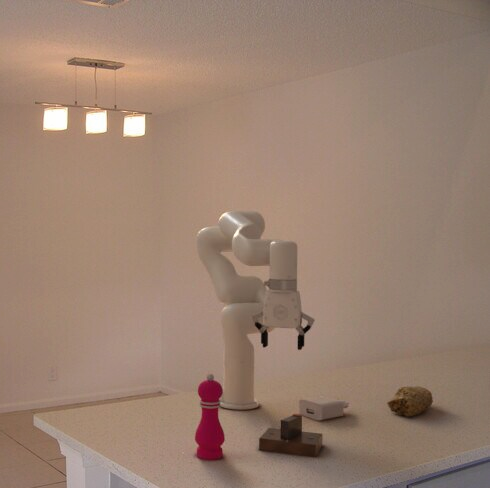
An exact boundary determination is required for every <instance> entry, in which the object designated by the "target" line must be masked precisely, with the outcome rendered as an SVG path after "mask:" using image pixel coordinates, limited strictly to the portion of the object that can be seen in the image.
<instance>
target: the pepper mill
mask: <svg viewBox="0 0 490 488" xmlns="http://www.w3.org/2000/svg"><path fill="white" fill-rule="evenodd" d="M222 386H223V385H221V383H220V382H219V381H218V380H215V376H214V374H213V373H208V374H207V375H206V380H202V382H200V384H199V385H198V387H197V395H198V397H199V398H200V399H199V407H201V418H200V420H199V423H198V426H197V427H196V430H195V434H194V441H195V443H196V445H198V447H197V448H196V457H198V458H199V459H201V460H207V461H208V460H211V461H212V460H218V459H222V457H223V454H224V453H223V452H224V451H223V447H221V446H223V444H224V443H225V440H226V439H225V436H226V435H225V432H224V429H223V427H222V425H221V421H220V418H219V408H220V407H221V406H220V400H219V399H220V397H221V396H222V393H223V390H222V389H223V387H222Z"/></svg>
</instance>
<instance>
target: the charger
mask: <svg viewBox="0 0 490 488" xmlns="http://www.w3.org/2000/svg"><path fill="white" fill-rule="evenodd" d="M349 405H350V403H349V402H346V401H345V400H341V399H337V398H334V397H331V396H327V395H319V396H313V397H308V398H301V399H299V405H298V406H299V407H298V408H299V409H298V411H299V415H301V416H302V417H306V418H310V419H312V420H315V421H325V420H329V419H335V418H339V417H343V416H344V410H345V409H347V408H349Z"/></svg>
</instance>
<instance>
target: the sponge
mask: <svg viewBox="0 0 490 488" xmlns="http://www.w3.org/2000/svg"><path fill="white" fill-rule="evenodd" d="M433 403H434V401H433V394H432V392H431V391H430V390H429V389H427V388H425V387H422V386H401V387H399V388H398V389H397V390H396V393H394V397H392V398H391V399H390V400H389V401H387V403H386V404H387V406H388V408H389V409H390V411H391V412H393V413H395V414H397V415H403V416H405V417H413V416H416V415H419V414H421V413H422V412H423V411H426V410H427V409H429V408H431V406H432V405H433Z"/></svg>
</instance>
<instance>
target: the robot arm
mask: <svg viewBox="0 0 490 488" xmlns="http://www.w3.org/2000/svg"><path fill="white" fill-rule="evenodd" d="M265 229H266V222H265V219H264V217H263V215H262V214H261V213H259V212H258V211H253V210H230V211H226V212H224V213H223V214H222V215H220V217H219V219H218V224H217V225H214V226H207V227H204V228H202V229H200V230H199V231H198V233H197V235H196V241H195V243H196V250H197V254H198V257H199V259H200V262H201V263H202V265H203V266H204V268H205V270H206V271H207V273H208V275H209V278H210V281H211V284H212V286H213V289H214V293H215V295H216V297H217V299H218V302H219V303H220V304H221V305H223V306H224V307H223V308H222V310H221V312H220V325H221V330H222V341H223V368H222V369H223V376H222V377H223V378H222V379H223V380H222V383H223V385H222V386H223V387H222V390H223V393H222V396H221V397H220V398H219V400H220V407H221V408H225V409H228V410H239V411H240V410H241V411H242V410H243V411H244V410H252V409H257V408H258V407H260V401H259V400H258V399H256V398H255V347H254V344H253V343H252V341H251V340H250V338H249V336H248V335H253V334H260V344H261V345H262V348H266V347H268V346H269V333H271V332H272V331H274V330H275V329H276V328H277V329H279V328H280V329H295V330H296V331H297V334H298V335H297V350H298V351H301V350H303V348H304V347H305V335H306V334H307V333H308V332H309V331H310V330H311V329H312V327H313V325H314V323H315V322H316V319H315V318H313V317H312V316H310V315H308V314H307V313H305V312H303V309H302V298H301V294H300V291H299V290H298V244H297V242H295V241H293V240H284V239H270V238H269V239H268V238H265V239H264V238H263V239H261V238H262V236H263V234H264V232H265ZM223 253H233V256H234V258H236V259H237V260H238V261H239V262H240V263H242V264H243V265H245V266H249V267H269V269H268V270H269V271H268V273H269V276H268V277H269V278H268V280H264V281H263V280H262V279H261V278H260V277H258V276H255V275H239V274H238V273H237V271H236V268H235V265H234V264H233V262H232V260H230V259H229V258H228V257H227V256H225V255H224V254H223ZM267 287H268V289H267ZM303 320H305V321H307V324H306V326H305V327H303V325H302V323H303Z"/></svg>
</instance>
